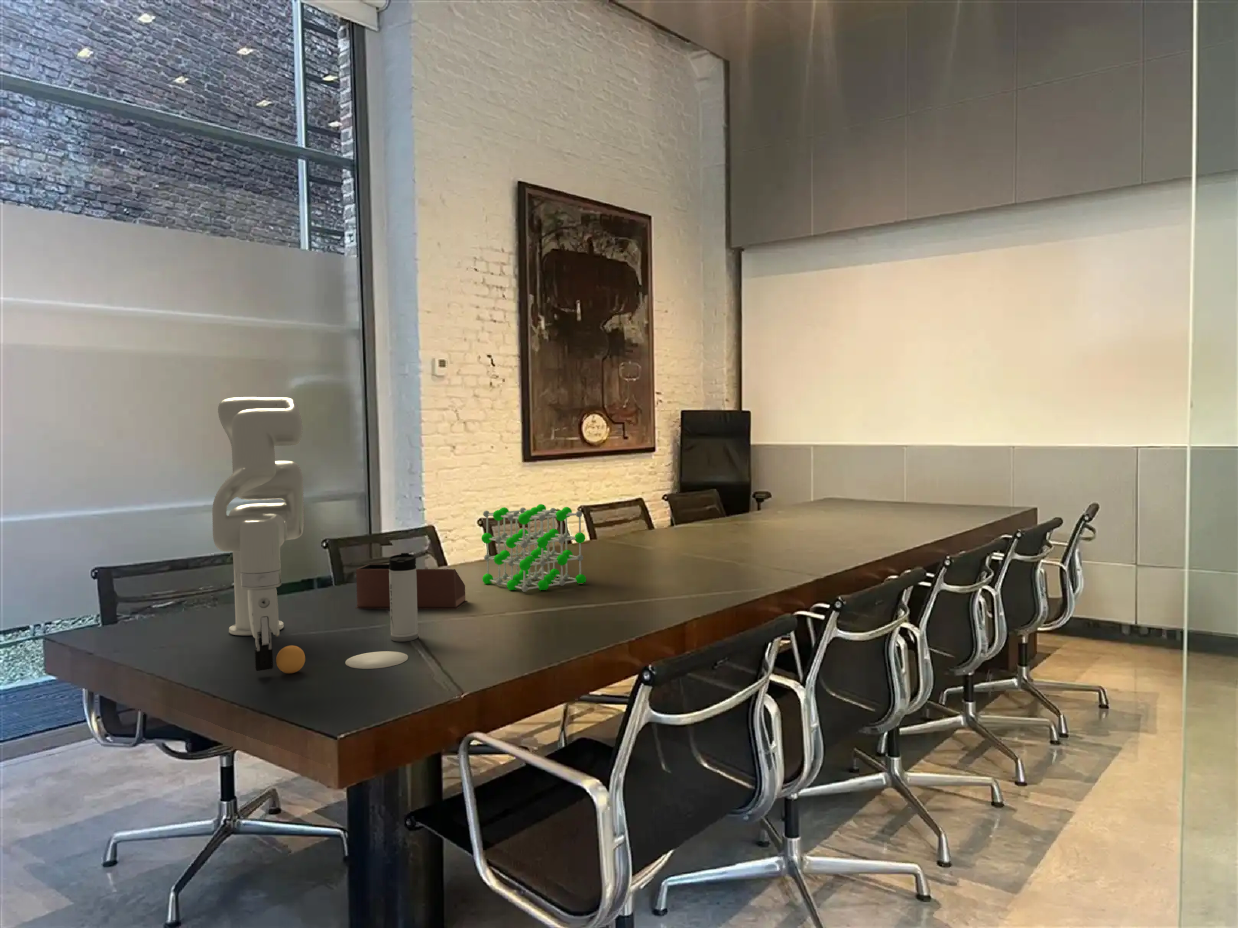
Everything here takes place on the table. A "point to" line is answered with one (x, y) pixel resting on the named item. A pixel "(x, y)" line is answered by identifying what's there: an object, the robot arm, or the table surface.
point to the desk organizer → (431, 588)
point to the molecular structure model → (541, 551)
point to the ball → (290, 659)
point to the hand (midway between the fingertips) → (264, 668)
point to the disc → (376, 660)
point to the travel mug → (403, 597)
